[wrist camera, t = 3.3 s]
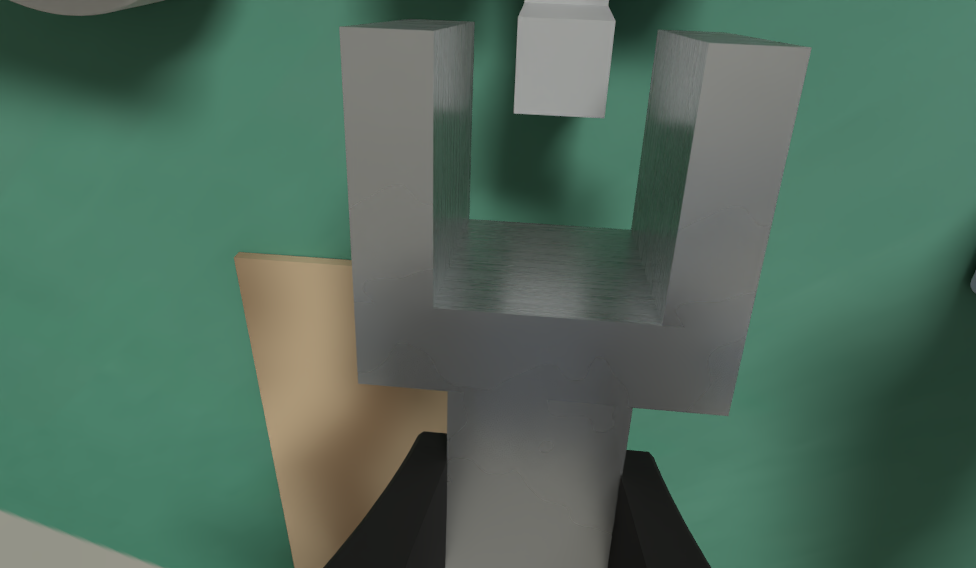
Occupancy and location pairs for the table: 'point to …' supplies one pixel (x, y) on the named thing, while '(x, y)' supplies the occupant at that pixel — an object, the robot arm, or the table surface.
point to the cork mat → (324, 400)
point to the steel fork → (557, 277)
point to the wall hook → (82, 6)
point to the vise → (563, 57)
